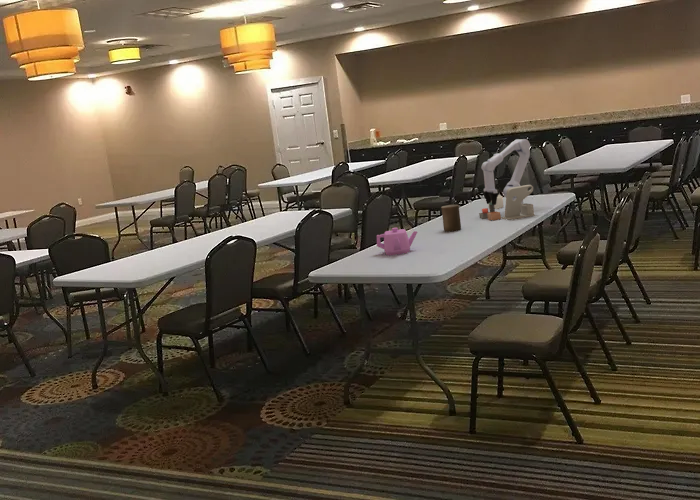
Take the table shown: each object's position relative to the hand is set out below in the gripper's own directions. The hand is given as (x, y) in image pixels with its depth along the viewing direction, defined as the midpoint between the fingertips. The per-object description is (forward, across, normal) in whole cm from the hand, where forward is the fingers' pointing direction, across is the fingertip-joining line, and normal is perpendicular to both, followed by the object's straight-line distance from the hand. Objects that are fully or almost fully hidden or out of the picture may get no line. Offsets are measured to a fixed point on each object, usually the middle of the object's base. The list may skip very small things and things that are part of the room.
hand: (491, 204), depth 434 cm
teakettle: (+8, +58, -77) cm, 97 cm away
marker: (+7, 0, 0) cm, 7 cm away
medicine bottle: (+7, -26, +14) cm, 30 cm away
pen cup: (+7, +14, -5) cm, 16 cm away
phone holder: (+7, +18, +8) cm, 21 cm away
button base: (+7, +4, -6) cm, 10 cm away
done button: (+4, +3, -6) cm, 8 cm away
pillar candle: (+7, +24, -35) cm, 43 cm away
